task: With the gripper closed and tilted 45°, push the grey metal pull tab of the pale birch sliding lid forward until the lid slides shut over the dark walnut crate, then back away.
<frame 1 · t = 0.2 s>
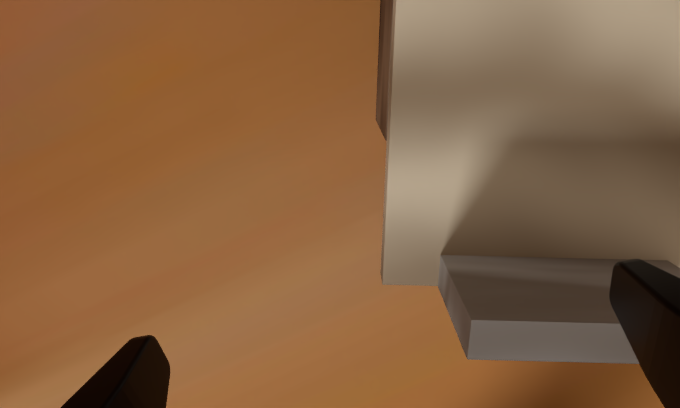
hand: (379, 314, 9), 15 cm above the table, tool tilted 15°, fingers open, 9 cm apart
lid: (602, 127, 14), point 10 cm above the table, slide at 5.0 cm
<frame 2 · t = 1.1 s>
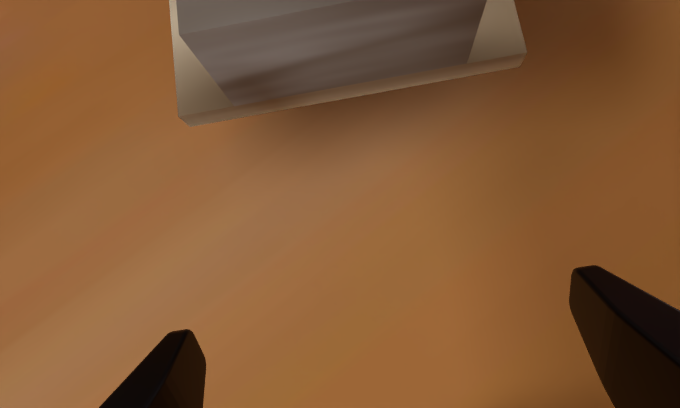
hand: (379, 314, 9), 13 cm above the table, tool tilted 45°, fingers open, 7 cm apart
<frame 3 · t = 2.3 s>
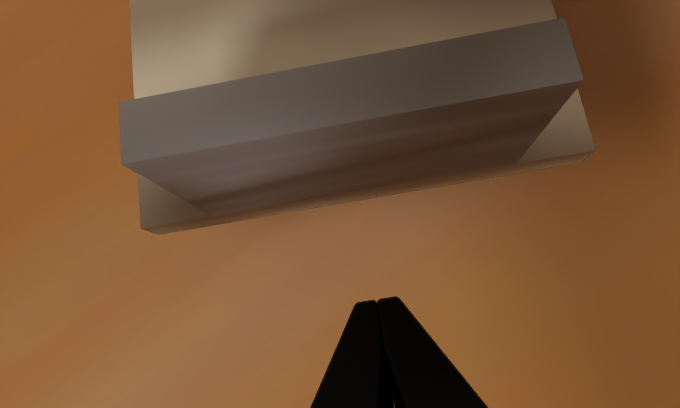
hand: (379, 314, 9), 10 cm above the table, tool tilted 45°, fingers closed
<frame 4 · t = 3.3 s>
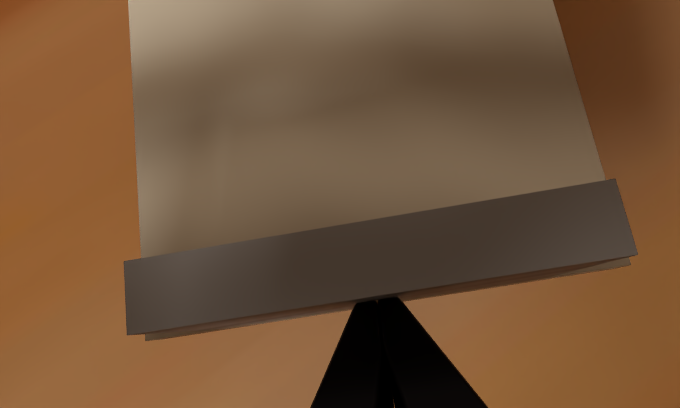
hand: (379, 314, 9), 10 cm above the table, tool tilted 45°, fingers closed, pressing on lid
lid: (336, 49, 12), point 10 cm above the table, slide at 4.1 cm, touching gripper
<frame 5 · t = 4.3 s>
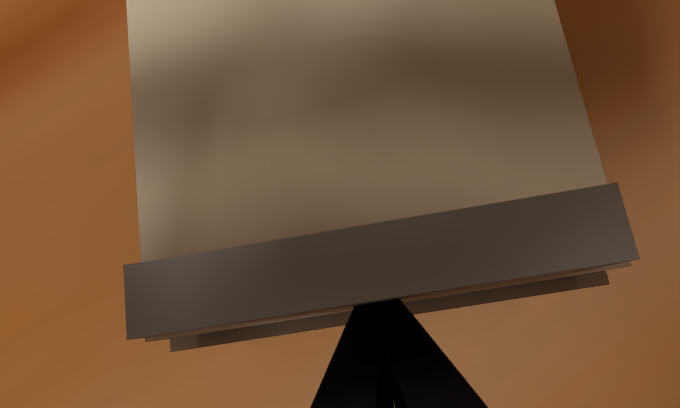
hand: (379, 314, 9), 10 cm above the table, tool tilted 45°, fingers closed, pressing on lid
crate: (361, 175, 21), on the table
lid: (336, 49, 12), point 10 cm above the table, slide at -0.4 cm, touching gripper
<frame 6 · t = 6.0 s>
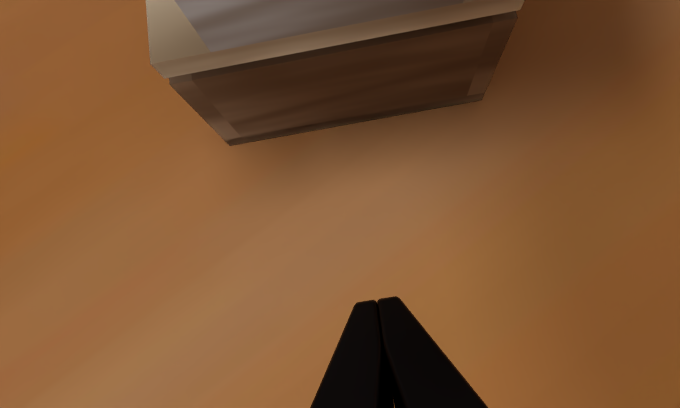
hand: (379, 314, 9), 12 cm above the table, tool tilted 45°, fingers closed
crate: (334, 11, 24), on the table
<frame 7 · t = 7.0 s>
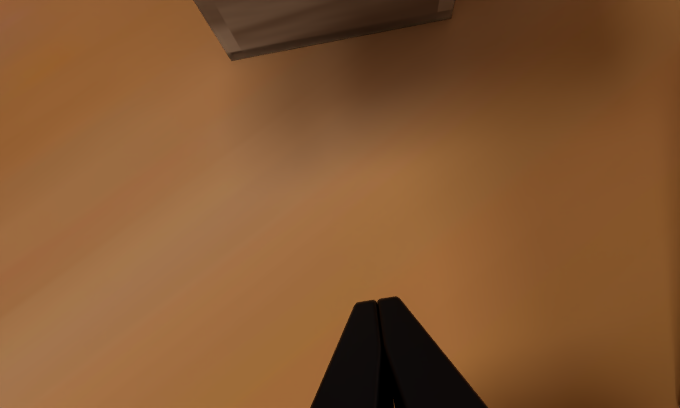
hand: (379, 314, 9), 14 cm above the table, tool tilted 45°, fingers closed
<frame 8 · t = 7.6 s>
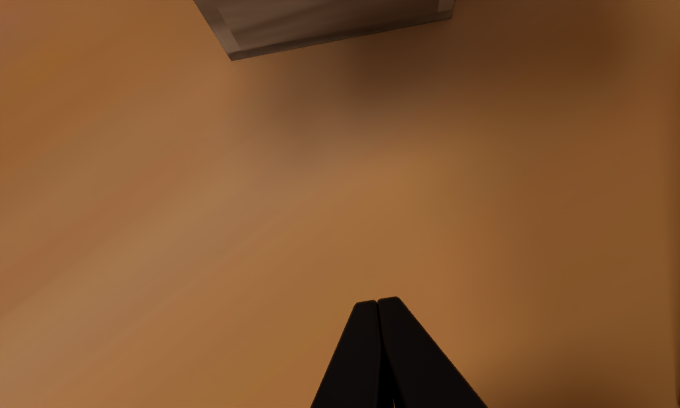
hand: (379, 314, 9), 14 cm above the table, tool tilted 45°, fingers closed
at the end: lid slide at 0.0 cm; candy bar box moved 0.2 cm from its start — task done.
